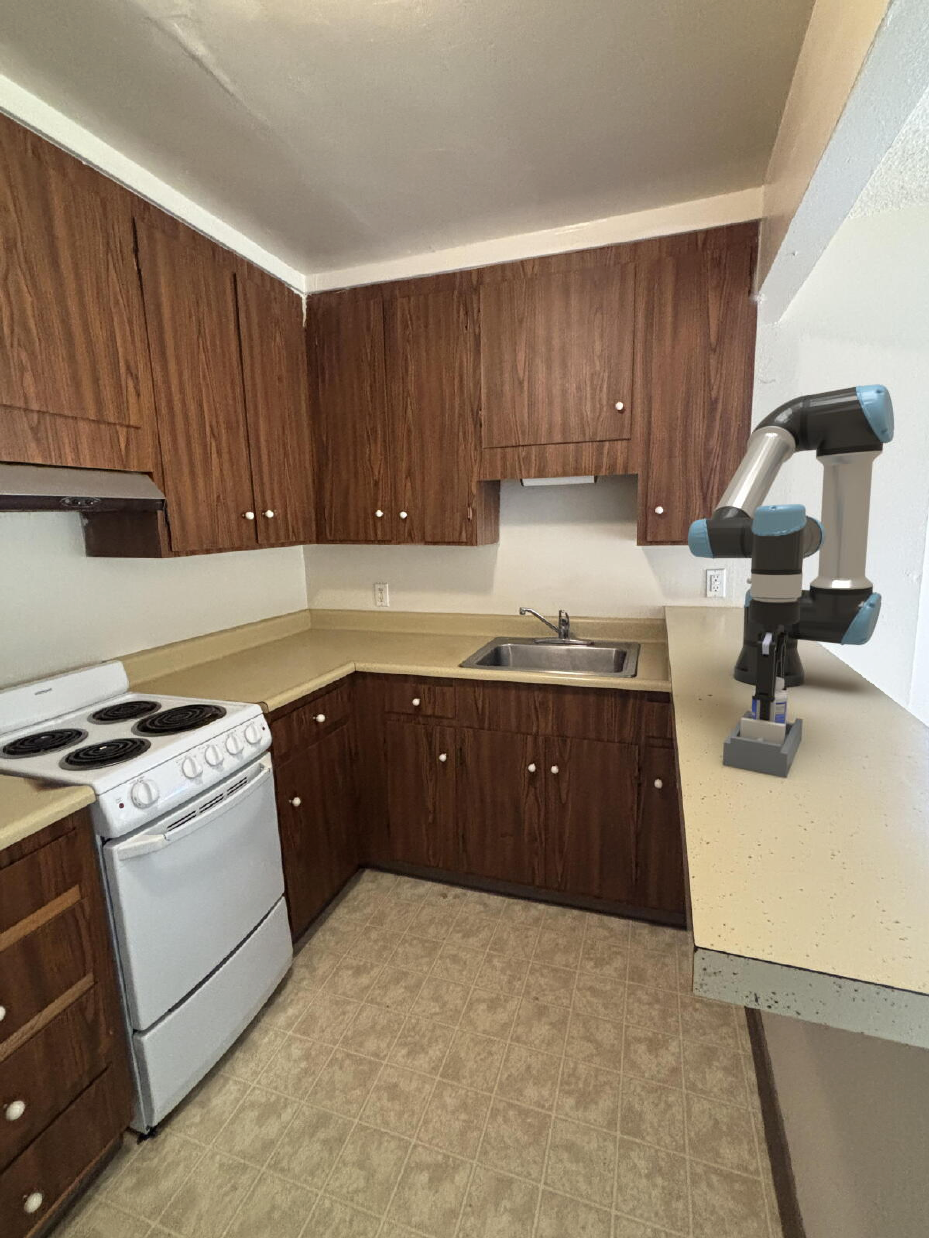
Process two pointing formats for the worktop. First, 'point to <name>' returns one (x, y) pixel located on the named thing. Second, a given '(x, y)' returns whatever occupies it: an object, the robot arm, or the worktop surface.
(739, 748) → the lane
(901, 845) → the worktop surface
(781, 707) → the pill bottle
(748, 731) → the pusher
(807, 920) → the worktop surface
